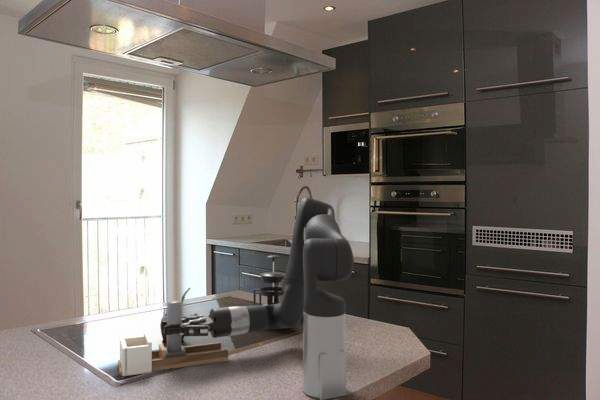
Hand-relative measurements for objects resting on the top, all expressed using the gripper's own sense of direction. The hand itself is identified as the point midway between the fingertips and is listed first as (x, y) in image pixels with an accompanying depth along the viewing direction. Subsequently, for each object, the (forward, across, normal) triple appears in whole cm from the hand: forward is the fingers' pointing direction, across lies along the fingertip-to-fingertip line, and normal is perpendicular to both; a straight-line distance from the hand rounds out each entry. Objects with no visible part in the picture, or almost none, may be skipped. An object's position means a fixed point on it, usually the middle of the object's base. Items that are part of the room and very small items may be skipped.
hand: (163, 328), depth 117 cm
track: (-3, 0, +9) cm, 9 cm away
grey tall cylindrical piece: (-2, 0, +8) cm, 8 cm away
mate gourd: (-6, -17, +9) cm, 20 cm away
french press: (-38, -22, +9) cm, 45 cm away
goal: (+6, 0, +9) cm, 11 cm away
